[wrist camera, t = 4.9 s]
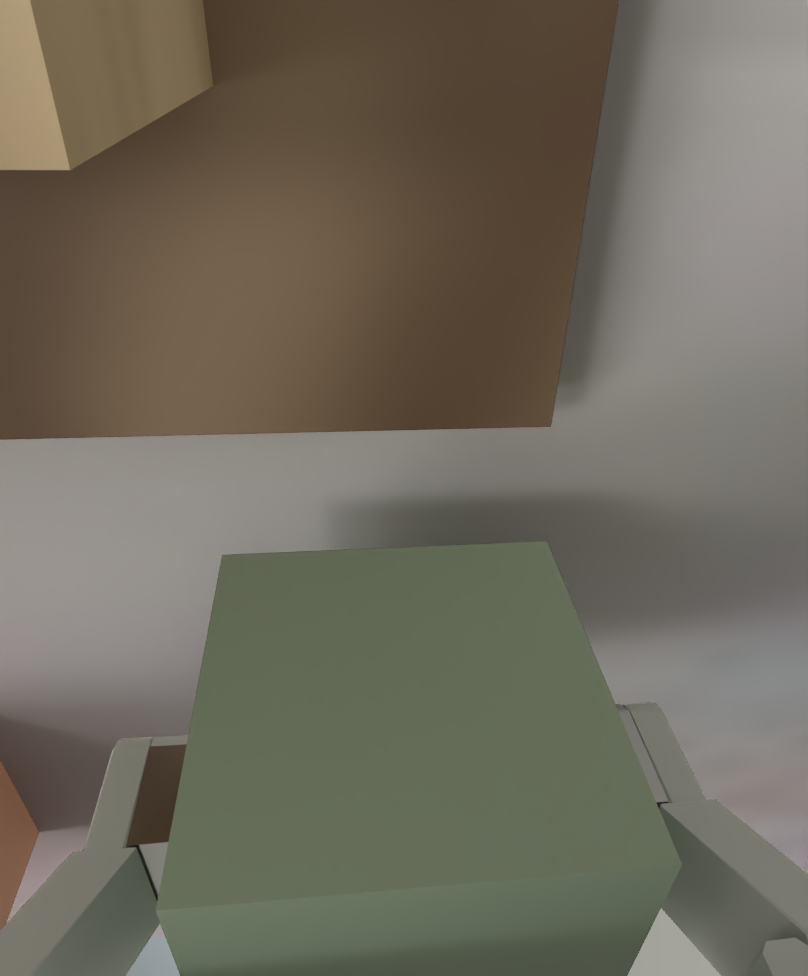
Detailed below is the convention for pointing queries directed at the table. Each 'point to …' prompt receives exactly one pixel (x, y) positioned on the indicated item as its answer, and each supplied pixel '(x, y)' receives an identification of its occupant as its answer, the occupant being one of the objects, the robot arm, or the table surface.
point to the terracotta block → (13, 843)
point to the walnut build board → (291, 212)
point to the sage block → (408, 776)
